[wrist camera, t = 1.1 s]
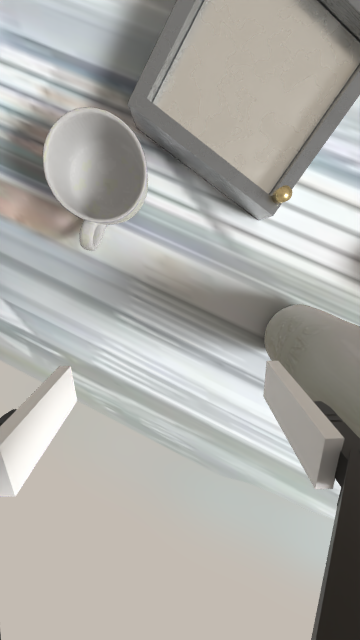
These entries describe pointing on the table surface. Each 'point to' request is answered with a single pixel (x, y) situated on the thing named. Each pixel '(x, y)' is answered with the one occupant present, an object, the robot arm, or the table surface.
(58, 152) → the teacup
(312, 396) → the grey bottle
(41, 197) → the table surface
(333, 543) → the robot arm
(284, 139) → the grey serving tray
